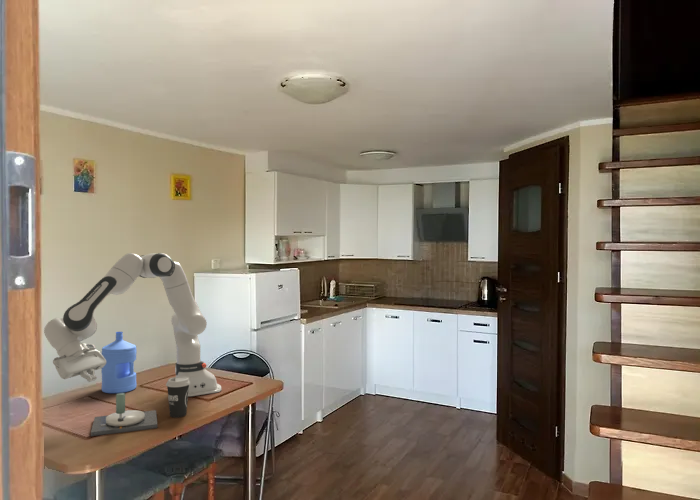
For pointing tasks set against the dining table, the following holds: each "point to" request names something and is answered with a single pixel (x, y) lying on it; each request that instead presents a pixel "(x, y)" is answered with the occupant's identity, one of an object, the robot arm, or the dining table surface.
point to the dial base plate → (103, 428)
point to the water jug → (119, 366)
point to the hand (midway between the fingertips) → (93, 380)
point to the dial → (124, 414)
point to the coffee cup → (178, 396)
